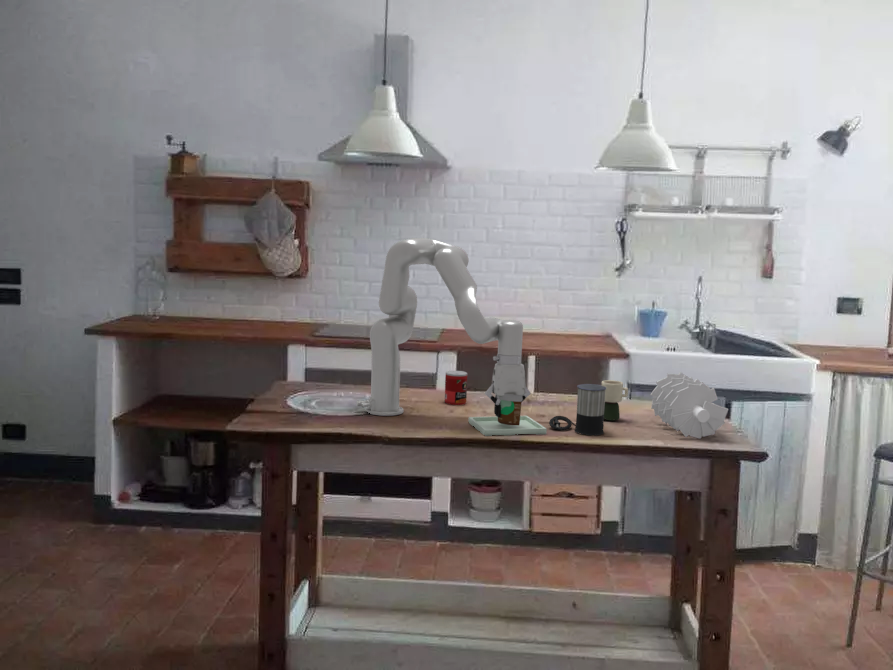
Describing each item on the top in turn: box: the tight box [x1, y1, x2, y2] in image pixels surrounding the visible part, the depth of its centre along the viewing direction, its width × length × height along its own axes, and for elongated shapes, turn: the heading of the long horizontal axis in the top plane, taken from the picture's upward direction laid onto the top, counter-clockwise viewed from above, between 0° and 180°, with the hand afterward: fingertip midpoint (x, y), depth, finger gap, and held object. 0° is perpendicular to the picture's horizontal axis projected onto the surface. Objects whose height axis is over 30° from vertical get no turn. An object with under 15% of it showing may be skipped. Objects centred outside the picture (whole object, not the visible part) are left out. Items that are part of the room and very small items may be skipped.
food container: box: [496, 393, 524, 425], centre depth 298 cm, size 12×6×10 cm, turn 20°
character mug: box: [601, 379, 629, 421], centre depth 315 cm, size 11×7×13 cm, turn 94°
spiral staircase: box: [650, 371, 729, 440], centre depth 302 cm, size 18×18×25 cm
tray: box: [468, 415, 547, 437], centre depth 299 cm, size 20×18×2 cm
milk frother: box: [548, 383, 606, 436], centre depth 298 cm, size 14×16×15 cm
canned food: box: [444, 370, 468, 406], centre depth 334 cm, size 8×8×11 cm
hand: (506, 415), depth 298 cm, fingers closed on food container, 5 cm apart
